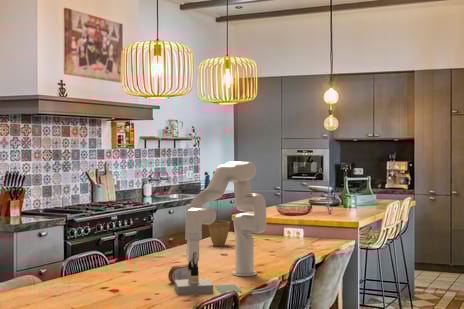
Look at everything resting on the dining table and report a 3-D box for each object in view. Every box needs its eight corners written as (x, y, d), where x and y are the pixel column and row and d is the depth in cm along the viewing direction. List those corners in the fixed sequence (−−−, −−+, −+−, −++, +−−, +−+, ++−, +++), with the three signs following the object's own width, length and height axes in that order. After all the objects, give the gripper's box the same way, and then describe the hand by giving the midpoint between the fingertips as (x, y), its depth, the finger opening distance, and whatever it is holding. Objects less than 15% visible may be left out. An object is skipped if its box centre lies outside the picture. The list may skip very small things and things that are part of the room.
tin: (192, 279, 305) (192, 263, 305) (196, 280, 302) (196, 263, 302) (167, 284, 295) (167, 266, 295) (171, 285, 292) (171, 267, 292)
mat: (214, 286, 290) (214, 285, 290) (235, 285, 291) (235, 284, 291) (219, 293, 276) (219, 292, 276) (241, 292, 278) (241, 291, 278)
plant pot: (226, 247, 400) (226, 223, 400) (204, 246, 405) (204, 222, 405) (232, 244, 415) (233, 220, 414) (212, 243, 419) (212, 220, 419)
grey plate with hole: (174, 288, 286) (174, 279, 286) (208, 286, 289) (208, 278, 289) (177, 295, 272) (177, 286, 272) (213, 294, 275) (213, 285, 275)
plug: (188, 289, 282) (188, 269, 282) (197, 288, 283) (197, 269, 283) (189, 291, 278) (189, 271, 278) (198, 290, 279) (198, 271, 279)
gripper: (183, 234, 288) (182, 270, 288) (187, 239, 271) (187, 277, 271) (198, 233, 289) (198, 269, 289) (204, 238, 272) (204, 277, 272)
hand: (193, 273), depth 280 cm, fingers open, 9 cm apart
